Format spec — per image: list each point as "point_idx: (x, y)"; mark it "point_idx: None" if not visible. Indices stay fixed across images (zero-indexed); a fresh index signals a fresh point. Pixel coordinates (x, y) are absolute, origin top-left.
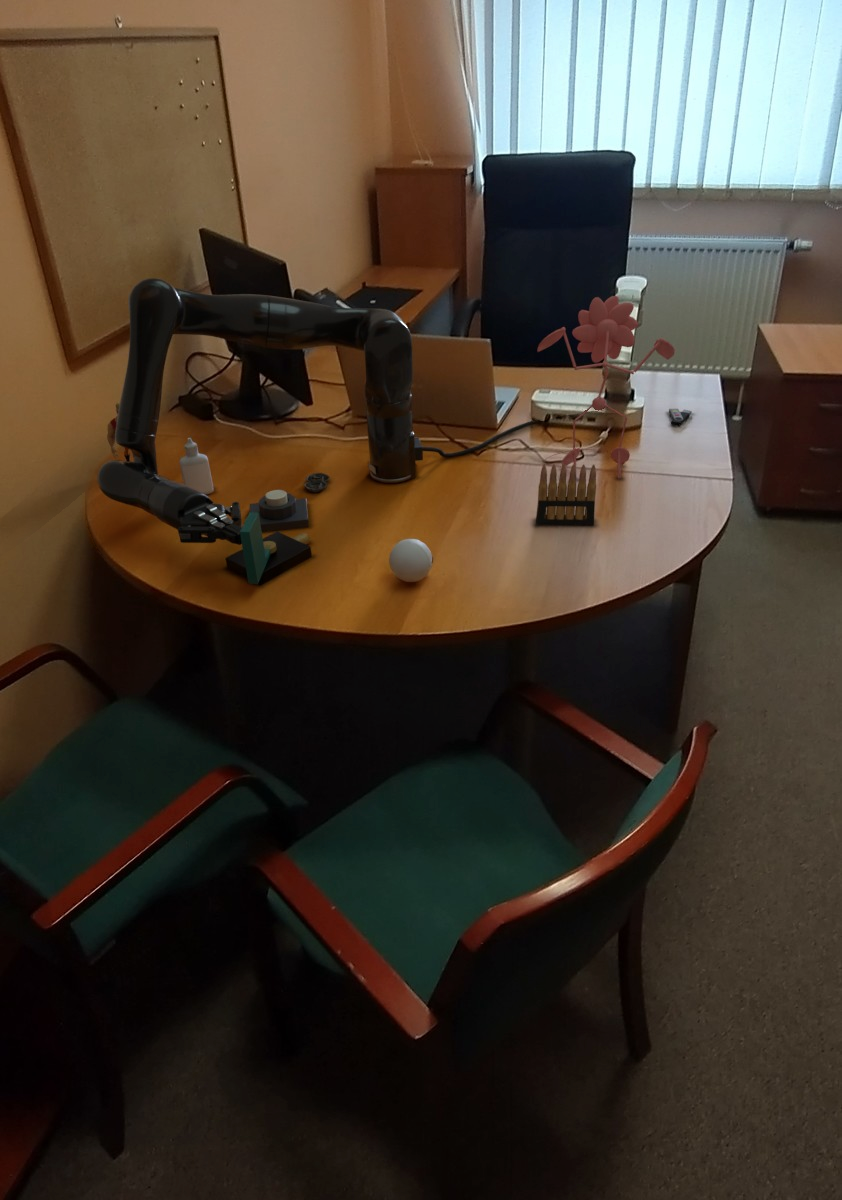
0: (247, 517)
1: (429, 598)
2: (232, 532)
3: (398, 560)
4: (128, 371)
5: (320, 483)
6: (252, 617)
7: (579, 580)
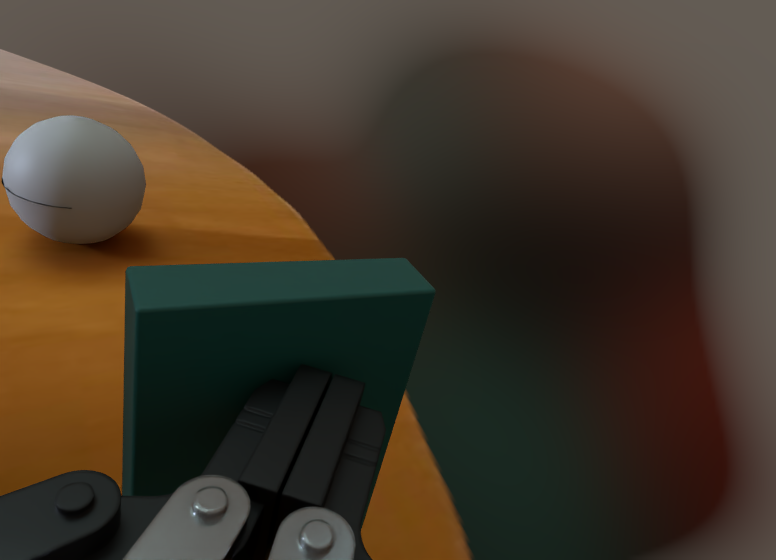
0: (233, 299)
1: (170, 214)
2: (349, 432)
3: (132, 169)
4: None
5: None
6: (451, 523)
7: (60, 100)
